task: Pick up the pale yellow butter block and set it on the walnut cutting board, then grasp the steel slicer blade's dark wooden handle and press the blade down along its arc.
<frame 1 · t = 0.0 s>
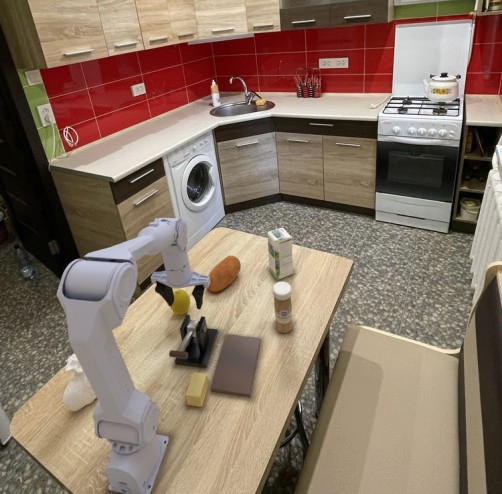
hand: (185, 304, 87), 10 cm above the table, tool pointing down, fingers open, 7 cm apart
slicer: (197, 347, 87), on the table
sprinkles bottle: (284, 326, 91), on the table
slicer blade: (187, 339, 80), point 8 cm above the table, hinge at 15.0°
board: (237, 364, 82), on the table
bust: (91, 389, 80), on the table
syrup box: (281, 272, 109), on the table
potato: (224, 281, 108), on the table
butter: (198, 394, 77), on the table
lemon: (182, 313, 98), on the table
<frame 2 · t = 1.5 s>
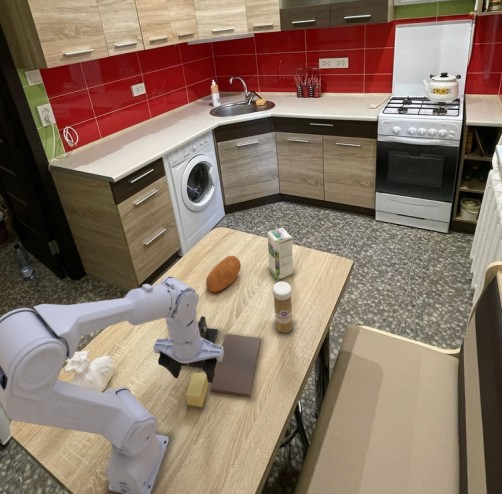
hand: (194, 376, 74), 6 cm above the table, tool pointing down, fingers open, 7 cm apart
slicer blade: (187, 342, 81), point 7 cm above the table, hinge at 1.6°, touching gripper
everything else where it was.
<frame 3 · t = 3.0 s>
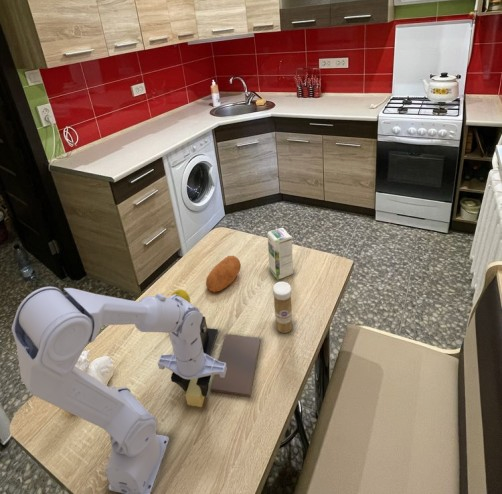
hand: (197, 390, 76), 1 cm above the table, tool pointing down, fingers closed on butter, 3 cm apart
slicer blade: (188, 346, 81), point 6 cm above the table, hinge at -18.1°
butter: (198, 394, 77), on the table, touching gripper
everything else where it was.
when the fingers open (2 cm above the table, at t = 6.4 s): butter stays where it is, resting on board.
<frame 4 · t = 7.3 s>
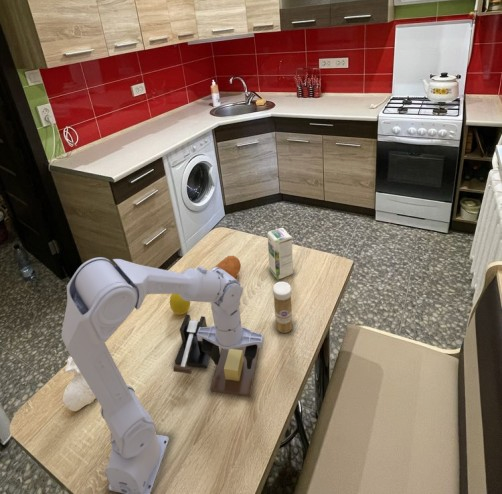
hand: (233, 362, 79), 4 cm above the table, tool pointing down, fingers open, 7 cm apart
butter: (234, 369, 80), point 1 cm above the table, touching board
everything else where it was.
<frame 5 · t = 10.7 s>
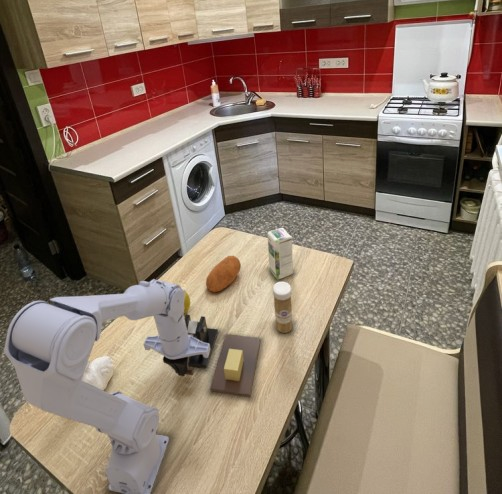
hand: (183, 371, 78), 4 cm above the table, tool pointing down, fingers closed, pressing on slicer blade
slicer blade: (189, 347, 82), point 5 cm above the table, hinge at -27.4°, touching gripper
everything else where it was.
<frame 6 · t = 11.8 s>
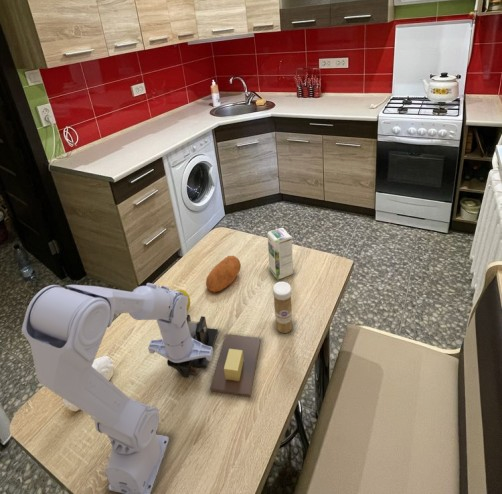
hand: (187, 372, 80), 1 cm above the table, tool pointing down, fingers closed, pressing on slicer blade
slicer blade: (191, 347, 83), point 4 cm above the table, hinge at -45.1°, touching gripper
everything else where it was.
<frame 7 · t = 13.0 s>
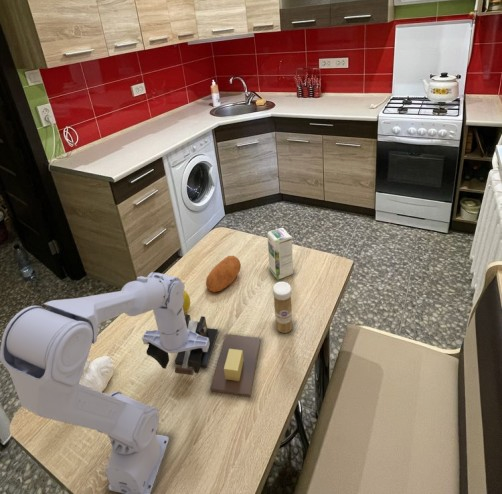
hand: (181, 366, 77), 5 cm above the table, tool pointing down, fingers open, 7 cm apart
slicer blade: (189, 346, 82), point 5 cm above the table, hinge at -25.8°
everything else where it was.
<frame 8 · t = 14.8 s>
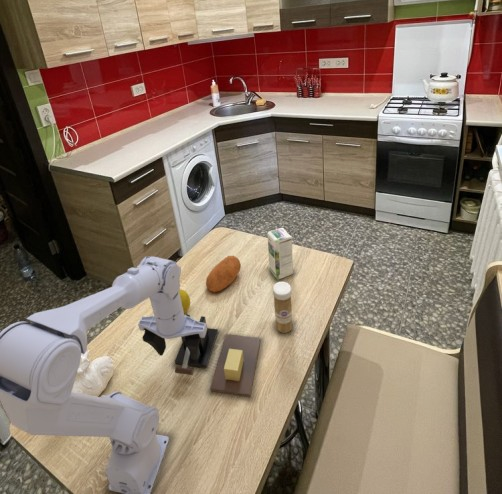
hand: (178, 353, 76), 9 cm above the table, tool pointing down, fingers open, 7 cm apart
nothing on the table moved.
at the end: butter inside the target area on the board (2.0 cm from its centre), point 1.0 cm above the board's base; butter tilted 0°; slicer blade at -26° (first picture: +15°) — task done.
